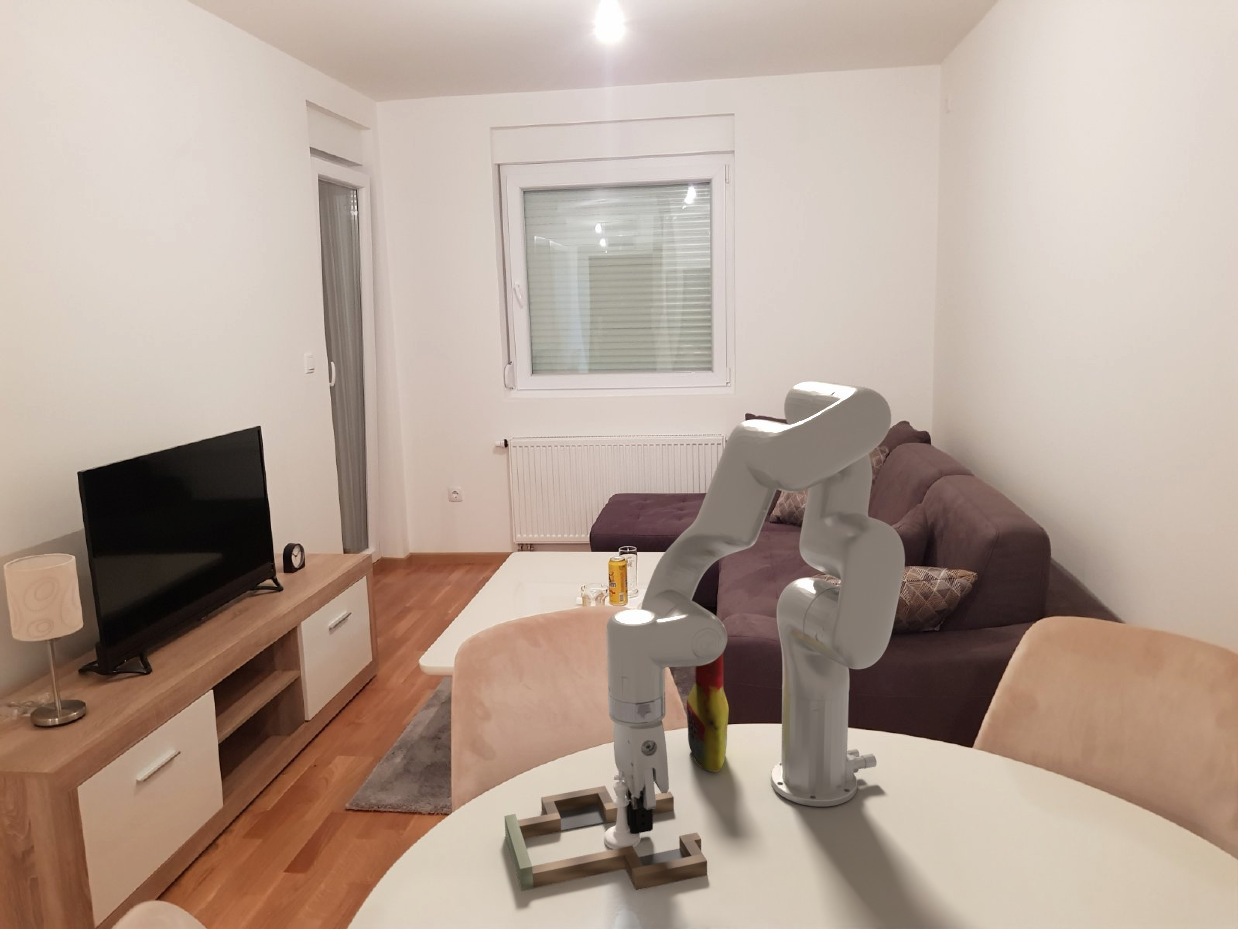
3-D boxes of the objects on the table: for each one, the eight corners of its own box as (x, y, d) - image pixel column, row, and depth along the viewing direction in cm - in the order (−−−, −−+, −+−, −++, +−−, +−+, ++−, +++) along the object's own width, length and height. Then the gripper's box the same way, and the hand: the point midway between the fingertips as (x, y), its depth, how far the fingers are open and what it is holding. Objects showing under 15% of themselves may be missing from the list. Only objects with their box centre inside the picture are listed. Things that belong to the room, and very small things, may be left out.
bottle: (733, 778, 134) (733, 654, 131) (691, 780, 134) (690, 655, 131) (723, 740, 146) (723, 625, 142) (684, 741, 146) (683, 626, 142)
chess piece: (638, 852, 117) (636, 783, 115) (601, 850, 118) (599, 781, 116) (642, 830, 122) (640, 763, 120) (606, 828, 123) (604, 761, 121)
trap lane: (660, 788, 132) (659, 769, 132) (714, 873, 112) (714, 852, 112) (500, 817, 126) (499, 798, 125) (528, 914, 106) (527, 891, 105)
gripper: (683, 724, 111) (685, 856, 114) (645, 677, 125) (648, 795, 128) (626, 734, 109) (630, 868, 112) (594, 685, 123) (598, 805, 126)
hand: (640, 829), depth 120 cm, fingers closed
